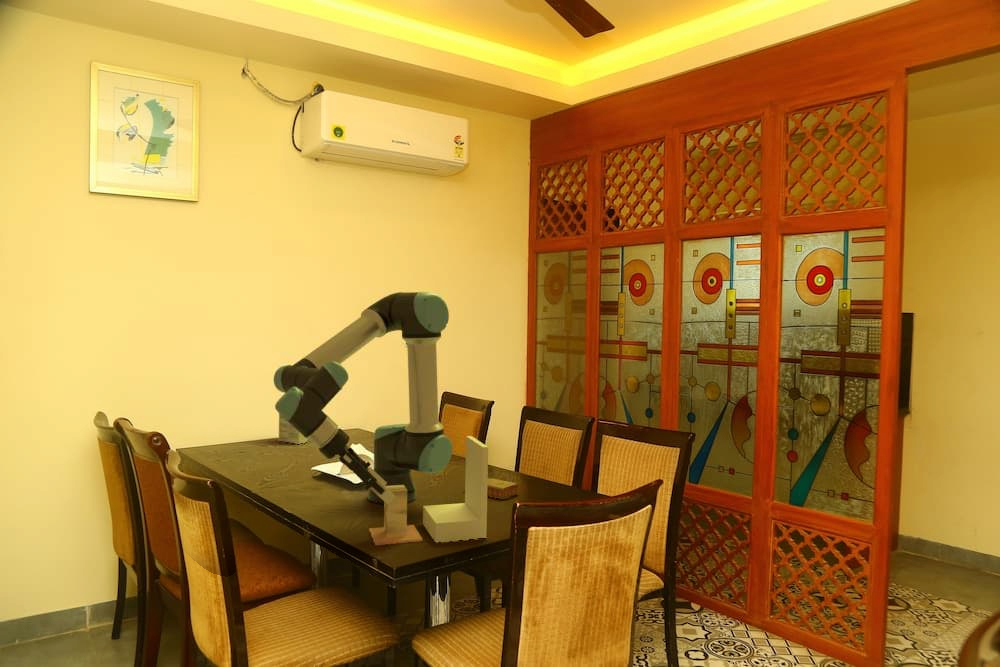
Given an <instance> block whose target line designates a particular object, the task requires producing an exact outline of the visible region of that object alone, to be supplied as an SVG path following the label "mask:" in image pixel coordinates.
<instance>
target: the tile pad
mask: <svg viewBox="0 0 1000 667" xmlns="http://www.w3.org/2000/svg"><path fill="white" fill-rule="evenodd" d="M368 530H369V531H368V532H369V534H370V533H371V534H370V536H371V539H372V538H373V539H372V540H373V544H374V543H375V544H374V546H383V545H386V544H387V545H395V544H396V545H397V543H398V544H408V543H409V542H410V543H419V542H421V543H422V542H424V541H423V536H421V535H420V532H419V530H418V529H417V528H416V526H415V525H414V524H407V536H402V537H390V538H387V536H386V534H385V532H384V526H380V527H369V528H368ZM410 543H409V544H410Z"/></svg>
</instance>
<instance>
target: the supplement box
mask: <svg viewBox="0 0 1000 667" xmlns="http://www.w3.org/2000/svg"><path fill="white" fill-rule="evenodd" d="M307 440H308V439H306V438H305V437H304V436H303V435H302V434H301V433H300V432H299V431H298V430H296V429H295V428H294V427H293V426H292V425H291V424H290V423H288V422H287V421H286V420H285V419H284V418H283V417H282V416H281V415H280V414H279V413H278V442H279V441H285V442H291V443H297V444H300V443H305V442H307ZM285 442H284V443H285ZM291 443H290V444H291ZM297 444H296V445H297ZM305 444H306V443H305Z"/></svg>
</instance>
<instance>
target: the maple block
mask: <svg viewBox="0 0 1000 667" xmlns="http://www.w3.org/2000/svg"><path fill="white" fill-rule="evenodd" d="M385 487H386V488H387V489H388V490H389V491H390V492H392V493H393V494H394V495H395V496H396V497H395V498H394V499H393V500H392V501H391V502H390V503H389V504H387V503H385V502H384V504H383V505H384V510H383V511H384V512H383V517H384V518H383V527H384V532H385V534H386V536H387V538H390V537H402V536H407V525H408V520H407V519H408V502H407V489H406V488H405V486H404V485H393V486H385Z"/></svg>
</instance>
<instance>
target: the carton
mask: <svg viewBox="0 0 1000 667" xmlns="http://www.w3.org/2000/svg"><path fill="white" fill-rule="evenodd" d="M516 494H518V495H519V484H518V483H516V482H513V481H507V480H502V479H497V478H492V477H488V484H487V495H488V496H492V497H497V498H502V499H504V498H507V497H510V496H513V495H516ZM488 496H487V497H488ZM492 497H491V498H492Z"/></svg>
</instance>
